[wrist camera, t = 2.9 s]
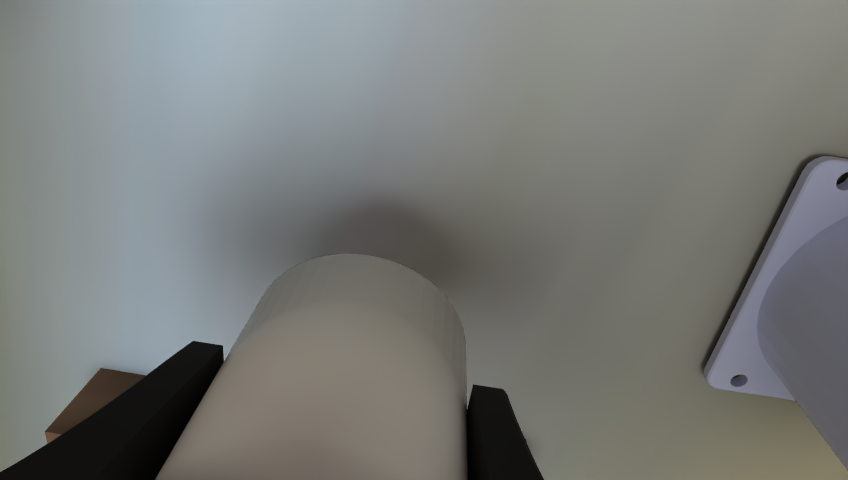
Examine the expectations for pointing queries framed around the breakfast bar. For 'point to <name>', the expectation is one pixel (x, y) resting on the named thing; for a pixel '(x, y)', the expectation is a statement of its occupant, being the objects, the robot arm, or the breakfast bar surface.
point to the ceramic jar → (336, 383)
